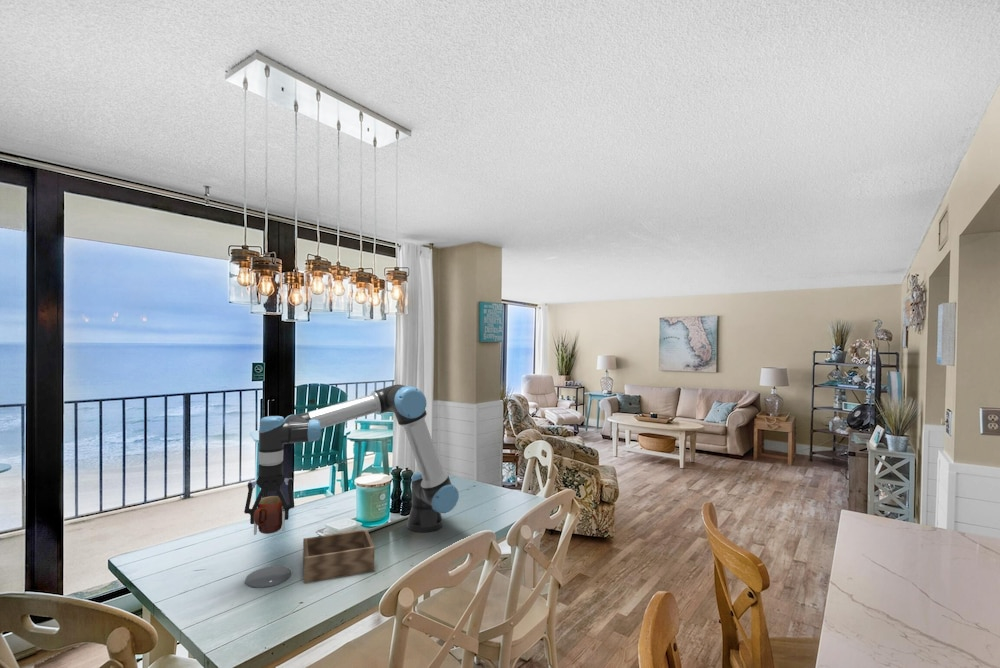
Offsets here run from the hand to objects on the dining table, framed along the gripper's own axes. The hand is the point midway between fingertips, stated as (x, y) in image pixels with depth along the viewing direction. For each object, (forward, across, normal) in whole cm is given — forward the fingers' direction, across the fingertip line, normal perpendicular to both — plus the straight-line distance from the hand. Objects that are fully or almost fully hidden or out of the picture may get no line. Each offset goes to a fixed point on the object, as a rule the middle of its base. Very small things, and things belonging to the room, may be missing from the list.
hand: (269, 531), depth 161 cm
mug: (0, +1, 0) cm, 1 cm away
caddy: (+15, -22, 0) cm, 27 cm away
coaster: (+15, 0, 0) cm, 15 cm away
